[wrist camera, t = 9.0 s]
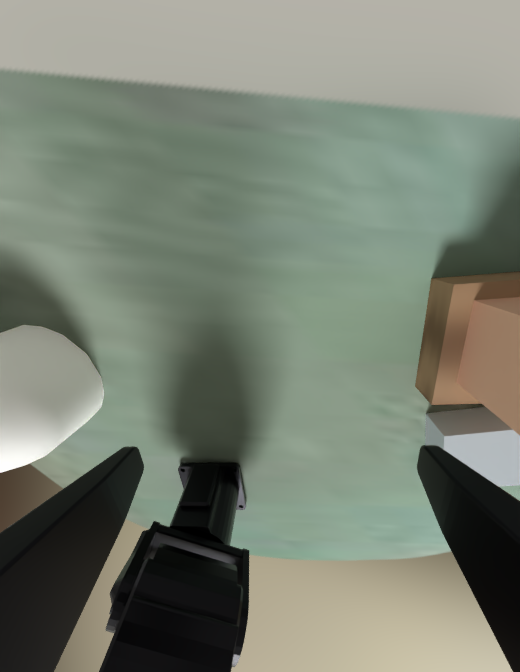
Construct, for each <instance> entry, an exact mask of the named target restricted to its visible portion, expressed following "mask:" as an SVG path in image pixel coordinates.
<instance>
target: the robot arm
mask: <svg viewBox="0 0 520 672" xmlns="http://www.w3.org/2000/svg"><path fill="white" fill-rule="evenodd" d="M143 470H144V464H143V461H142V458H141V455H140V452H139V449H138V448H137V447H123V448H122V449H120V450H119V451H117V452H116V453H115V454H113V455H112V456H110V457H109V458H107V459H106V460H104V461H103V462H102V463H100V464H99V465H97V466H96V467H94V468H93V469H92V470H90V471H89V472H87V473H86V474H84V475H83V476H81V477H80V478H79V479H77V480H76V481H74V482H73V483H71V484H70V485H68V486H67V487H66V488H64V489H63V490H61V491H60V492H58V493H57V494H56V495H54V496H53V497H51V498H50V499H48V500H47V501H45V502H44V503H43V504H41V505H40V506H38V507H37V508H35V509H34V510H32V511H31V512H30V513H28V514H27V515H25V516H24V517H22V518H21V519H20V520H18V521H17V522H15V523H14V524H12V525H11V526H9V527H8V528H7V529H5V530H4V531H2V532H1V533H0V672H54V670H55V668H56V666H57V664H58V662H59V660H60V657H61V655H62V653H63V651H64V649H65V647H66V645H67V642H68V640H69V638H70V636H71V634H72V632H73V630H74V628H75V626H76V624H77V621H78V619H79V617H80V615H81V613H82V611H83V609H84V607H85V604H86V602H87V600H88V598H89V596H90V594H91V591H92V590H93V587H94V585H95V583H96V581H97V579H98V577H99V575H100V572H101V571H102V568H103V566H104V564H105V562H106V560H107V557H108V556H109V554H110V551H111V549H112V547H113V545H114V543H115V541H116V539H117V537H118V534H119V532H120V530H121V528H122V526H123V523H124V521H125V519H126V516H127V514H128V511H129V508H130V506H131V503H132V500H133V498H134V495H135V492H136V490H137V487H138V484H139V482H140V479H141V476H142V474H143ZM417 470H418V474H419V476H420V479H421V481H422V484H423V486H424V489H425V491H426V494H427V496H428V499H429V501H430V504H431V506H432V509H433V511H434V514H435V516H436V519H437V521H438V524H439V526H440V528H441V531H442V533H443V535H444V537H445V539H446V541H447V543H448V545H449V547H450V549H451V551H452V553H453V555H454V557H455V559H456V560H457V563H458V565H459V567H460V569H461V571H462V572H463V574H464V576H465V578H466V580H467V582H468V584H469V586H470V588H471V590H472V592H473V594H474V596H475V598H476V600H477V602H478V604H479V606H480V608H481V610H482V612H483V614H484V616H485V618H486V620H487V622H488V623H489V625H490V627H491V629H492V631H493V633H494V635H495V637H496V639H497V641H498V643H499V645H500V647H501V649H502V651H503V653H504V654H505V657H506V659H507V661H508V663H509V665H510V667H511V669H512V670H513V672H520V501H519V500H518V499H516V498H515V497H513V496H512V495H510V494H509V493H507V492H506V491H504V490H503V489H501V488H500V487H498V486H497V485H495V484H494V483H492V482H491V481H489V480H488V479H486V478H485V477H484V476H482V475H481V474H479V473H478V472H476V471H475V470H473V469H472V468H470V467H469V466H467V465H466V464H464V463H463V462H461V461H460V460H458V459H457V458H455V457H454V456H452V455H451V454H450V453H448V452H447V451H445V450H444V449H442V448H441V447H439V446H437V445H423V446H421V448H420V452H419V458H418V463H417ZM178 471H179V475H180V478H181V481H182V484H183V488H184V491H183V493H182V496H181V499H180V501H179V504H178V506H177V509H176V511H175V514H174V517H173V519H172V522H171V524H170V527H168V526H164V525H161V524H160V523H159V522H156V521H154V522H153V524H152V526H151V528H150V529H149V530H146V531H143V532H142V534H141V536H140V538H139V540H138V542H137V544H136V546H135V549H134V551H133V553H132V554H131V556H130V558H129V560H128V561H127V563H126V565H125V566H124V568H123V570H122V571H121V573H120V575H119V576H118V578H117V580H116V581H115V583H114V585H113V588H112V590H111V592H110V597H111V603H112V607H111V610H110V613H109V614H111V615H110V618H109V620H108V623H107V626H106V631H109V632H112V633H114V636H113V638H112V641H111V643H110V646H109V649H108V651H107V653H106V656H105V658H104V661H103V663H102V666H101V668H100V671H99V672H231V668H232V667H235V666H236V665H237V663H238V660H239V657H240V654H241V651H242V647H243V643H244V638H245V632H246V626H247V619H248V605H249V550H247V549H239V548H236V547H232V546H230V542H231V536H232V530H233V525H234V519H235V513H236V510H243V509H245V508H246V500H245V494H244V488H243V483H242V477H241V472H240V466H239V465H238V464H236V463H183V464H180V466H179V468H178Z"/></svg>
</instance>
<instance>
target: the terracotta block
mask: <svg viewBox="0 0 520 672" xmlns="http://www.w3.org/2000/svg"><path fill="white" fill-rule="evenodd" d="M457 383H458V384H459V385H460V386H461V387H463V388H464V389H465V390H466V391H467V392H468V393H470V394H471V395H472V396H473V397H474V398H476V399H477V400H478V401H479V402H480V403H482V404H483V405H484V406H485V407H486V408H488V409H489V410H490V411H491V412H492V413H494V414H495V415H496V416H497V417H498V418H500V419H501V420H502V421H503V422H504V423H506V424H507V425H508V426H509V427H510V428H512V429H513V430H514V431H515V432H516V433H518V434H519V435H520V297H513V298H499V299H486V300H474V302H473V307H472V311H471V316H470V321H469V325H468V330H467V335H466V339H465V344H464V349H463V353H462V358H461V363H460V368H459V372H458V377H457Z"/></svg>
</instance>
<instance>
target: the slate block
mask: <svg viewBox="0 0 520 672" xmlns="http://www.w3.org/2000/svg"><path fill="white" fill-rule="evenodd" d="M425 445H437V446H439V447H441V448H442V449H444V450H445V451H447V452H448V453H450V454H451V455H452V456H454V457H455V458H457V459H458V460H460V461H461V462H463V463H464V464H466V465H467V466H469V467H470V468H472V469H473V470H475V471H476V472H478V473H479V474H481V475H482V476H484V477H485V478H486V479H488V480H489V481H491V482H492V483H494V484H495V485H497V486H513V485H520V435H519V434H518V433H516V432H515V431H514V430H513V429H512V428H510V427H509V426H508V425H507V424H506V423H504V422H503V421H502V420H501V419H500V418H498V417H497V416H496V415H495V414H494V413H492V412H491V411H490V410H489V409H488V408H486V407H479V408H470V409H461V410H452V411H444V412H435V413H426V428H425Z"/></svg>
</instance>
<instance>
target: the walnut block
mask: <svg viewBox="0 0 520 672" xmlns="http://www.w3.org/2000/svg"><path fill="white" fill-rule="evenodd" d="M513 297H520V271H518V272H506V273H493V274H481V275H468V276H456V277H443V278H431V285H430V291H429V298H428V305H427V311H426V318H425V325H424V331H423V338H422V344H421V351H420V358H419V364H418V371H417V378H416V384H415V387H416V388H417V389H418V390H419V391H420V392H421V393H422V395H423V396H424V397H425V398H426V399H427V400H428V401H429V402H430V404H431V405H444V404H482V403H480V402H479V401H478V400H477V399H476V398H474V397H473V396H472V395H471V394H470V393H468V392H467V391H466V390H465V389H464V388H463V387H461V386H460V385H459V384H458V383H457V377H458V372H459V368H460V363H461V358H462V353H463V349H464V344H465V339H466V335H467V330H468V325H469V321H470V316H471V311H472V307H473V302H474V300H486V299H499V298H513Z"/></svg>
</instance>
